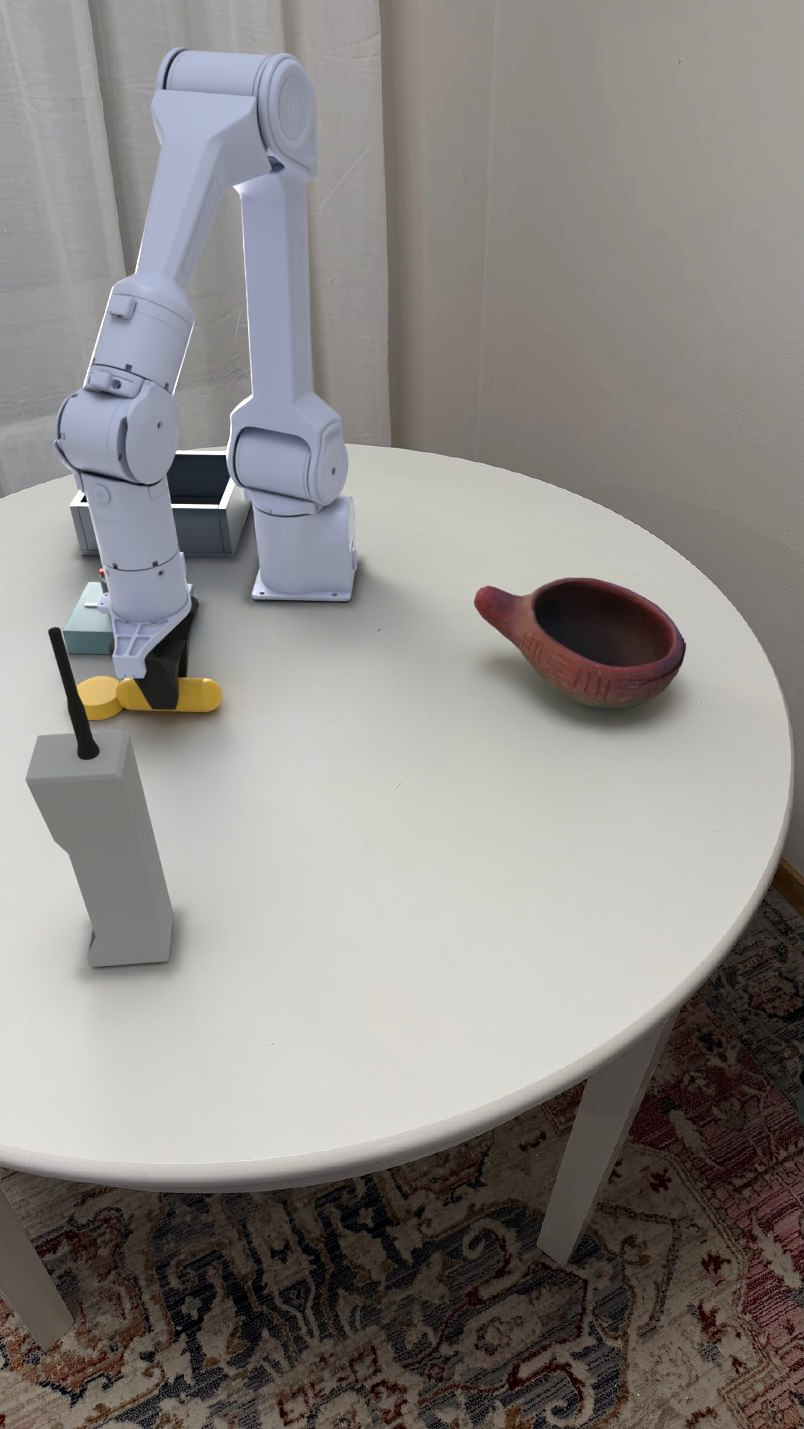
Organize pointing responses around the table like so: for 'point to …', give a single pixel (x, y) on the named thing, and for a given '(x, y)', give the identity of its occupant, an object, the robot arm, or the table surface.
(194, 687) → the yellow disc and capsule
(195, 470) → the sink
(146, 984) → the table surface
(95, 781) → the vintage mobile phone
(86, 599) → the dial base
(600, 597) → the bowl
